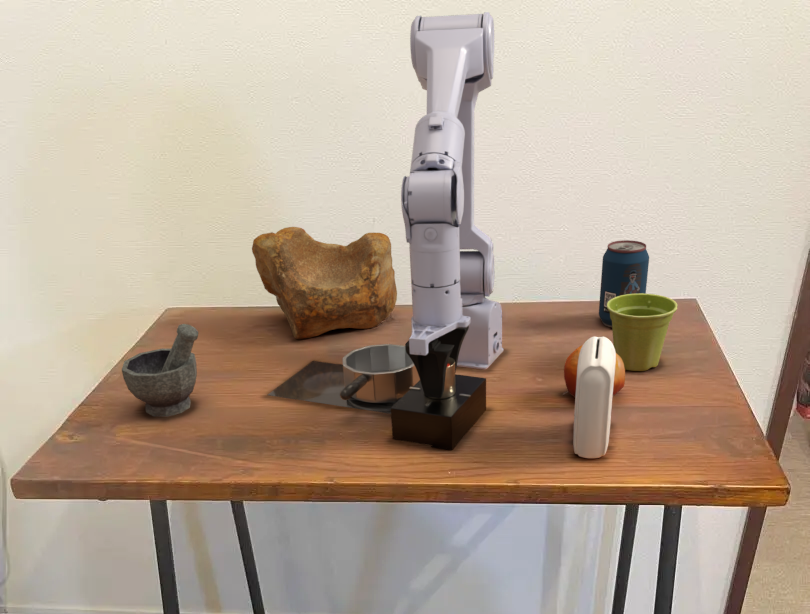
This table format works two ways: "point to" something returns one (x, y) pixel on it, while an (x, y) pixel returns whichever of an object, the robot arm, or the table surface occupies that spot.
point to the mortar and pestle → (164, 375)
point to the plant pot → (640, 328)
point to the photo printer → (594, 397)
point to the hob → (323, 388)
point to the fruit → (571, 373)
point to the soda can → (622, 273)
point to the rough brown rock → (327, 280)
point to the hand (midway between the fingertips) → (439, 388)
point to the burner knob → (449, 380)
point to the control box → (439, 414)
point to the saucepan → (378, 373)
